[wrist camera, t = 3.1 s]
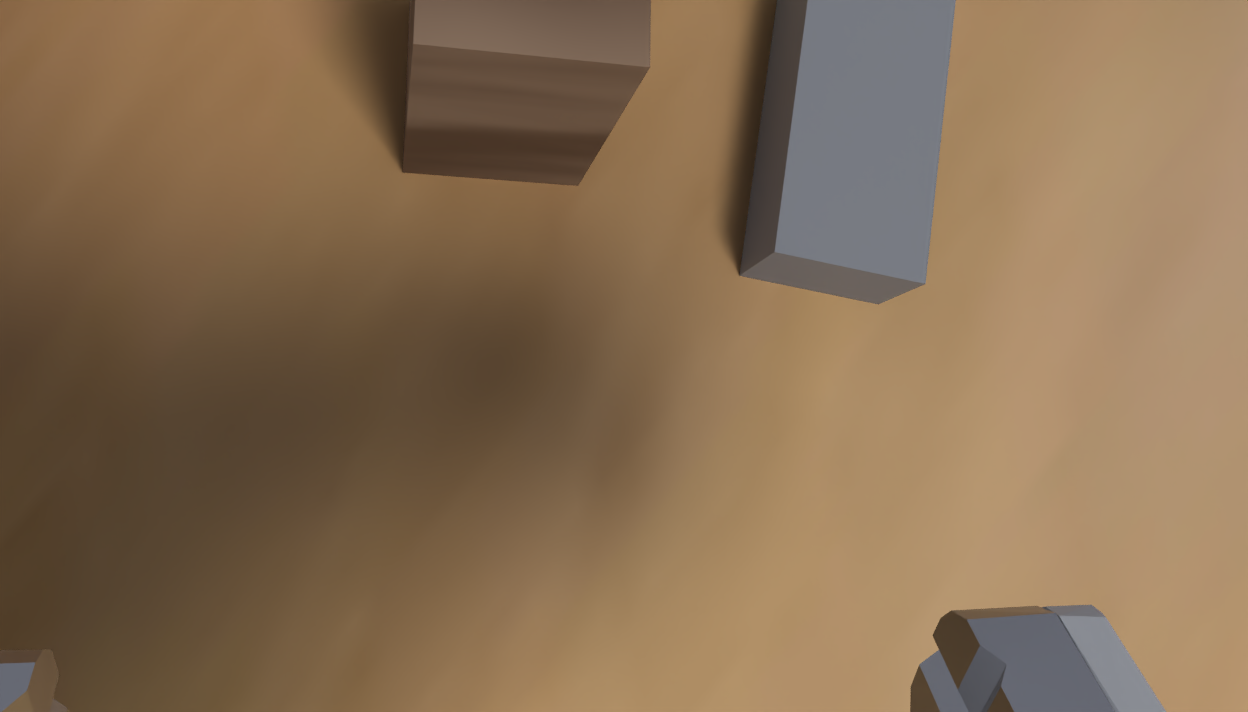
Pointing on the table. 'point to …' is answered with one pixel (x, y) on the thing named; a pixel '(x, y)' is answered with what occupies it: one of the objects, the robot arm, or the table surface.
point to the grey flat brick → (849, 146)
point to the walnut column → (519, 85)
